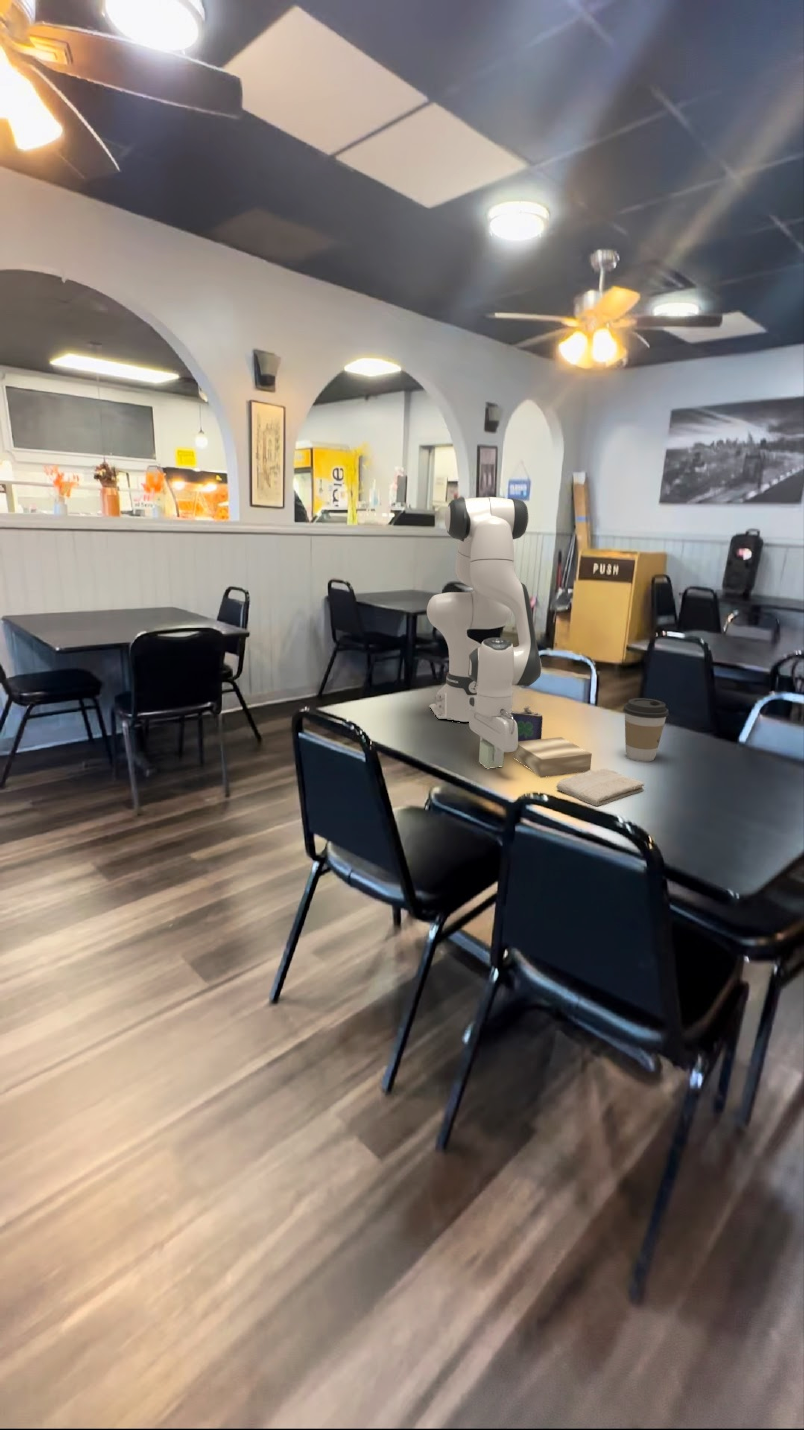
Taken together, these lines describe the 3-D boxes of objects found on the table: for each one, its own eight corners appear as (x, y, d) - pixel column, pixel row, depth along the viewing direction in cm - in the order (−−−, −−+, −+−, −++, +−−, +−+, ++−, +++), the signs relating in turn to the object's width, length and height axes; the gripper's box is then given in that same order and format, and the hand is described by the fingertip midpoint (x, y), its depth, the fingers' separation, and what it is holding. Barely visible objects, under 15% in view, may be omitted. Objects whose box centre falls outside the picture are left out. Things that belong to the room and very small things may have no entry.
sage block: (478, 763, 171) (479, 741, 169) (494, 761, 172) (495, 739, 170) (486, 769, 167) (487, 746, 165) (502, 767, 168) (504, 745, 166)
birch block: (513, 760, 175) (514, 741, 173) (559, 754, 179) (560, 737, 178) (540, 778, 162) (542, 759, 161) (590, 772, 167) (591, 753, 165)
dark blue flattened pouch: (507, 742, 187) (509, 706, 184) (509, 740, 190) (512, 703, 187) (539, 747, 184) (542, 710, 181) (542, 744, 186) (545, 707, 183)
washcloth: (646, 792, 155) (647, 779, 155) (597, 810, 145) (598, 796, 144) (604, 776, 165) (605, 764, 164) (554, 792, 154) (556, 779, 153)
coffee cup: (666, 766, 171) (673, 709, 167) (620, 762, 173) (626, 706, 169) (659, 752, 181) (666, 698, 177) (615, 748, 184) (621, 695, 179)
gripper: (526, 715, 157) (522, 770, 160) (487, 694, 175) (484, 744, 179) (502, 717, 155) (499, 773, 158) (465, 695, 173) (463, 746, 177)
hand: (491, 757), depth 169 cm, fingers closed on sage block, 4 cm apart
